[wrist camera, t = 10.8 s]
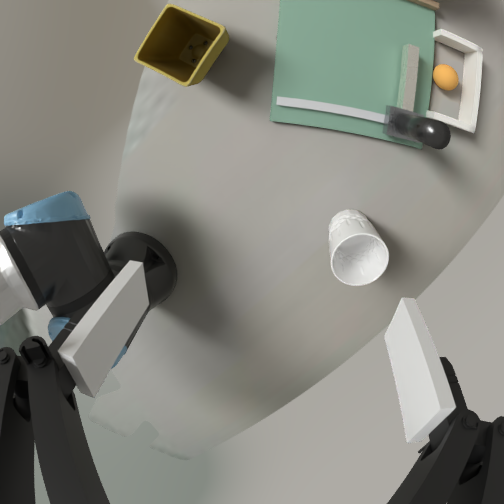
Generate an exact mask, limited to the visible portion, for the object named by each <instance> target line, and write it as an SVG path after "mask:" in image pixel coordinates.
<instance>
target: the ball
mask: <svg viewBox="0 0 504 504" xmlns="http://www.w3.org/2000/svg"><path fill="white" fill-rule="evenodd" d="M433 79H434V81H435V83H436V84H437V85H438V86H439V87H440V88H441V89H444V90H452V89H454V88H455V87H456V86H457V84H458V75H457V73H456V71H455V70H454V69H453V68H452V67H450V66H448V65H445V64H441V65H438V66H436V67H435V69H434V71H433Z"/></svg>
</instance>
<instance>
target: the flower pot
mask: <svg viewBox="0 0 504 504" xmlns="http://www.w3.org/2000/svg"><path fill="white" fill-rule="evenodd" d="M228 41H229V35H228V33H227V31H226V28H225V27H224V26H223V25H220V24H218V23H216V22H213V21H211V20H209V19H206V18H204V17H202V16H199V15H197V14H195V13H192V12H190V11H188V10H186V9H183V8H181V7H178V6H176V5H174V4H167V5H166V6H165V8H164V9H163V11H162V12H161V14H160V15H159V17H158V18H157V20H156V22H155V23H154V25H153V26H152V28H151V29H150V31H149V33H148V35H147V36H146V38H145V39H144V41H143V43H142V44H141V46H140V48H139V50H138V51H137V53H136V55H135V57H134V60H135V61H136V62H138V63H140V64H142V65H144V66H146V67H148V68H150V69H152V70H154V71H156V72H158V73H160V74H162V75H164V76H166V77H168V78H169V79H171V80H173V81H175V82H177V83H178V84H180V85H182V86H185V87H187V86H191V85H194V84H198V83H200V82H201V81H202V80H203V79H204V77H205V75H206V74H207V72H208V71H209V69H210V68H211V66H212V65H213V63H214V62H215V60H216V59H217V57H218V56H219V54H220V53H221V51H222V50H223V49H224V47H225V46H226V45H227V43H228ZM204 42H207V45H204ZM190 46H192V47H193V48H192V49H189V47H190ZM193 59H195V60H196V61H195V62H194V63H193V62H192V60H193Z"/></svg>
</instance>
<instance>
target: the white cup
mask: <svg viewBox="0 0 504 504" xmlns="http://www.w3.org/2000/svg"><path fill="white" fill-rule="evenodd" d="M328 228H329V250H330V260H331V268H332V271H333V273H334V275H335V276H336V277H337V278H338V279H339V280H340V281H341V282H343V283H345V284H348V285H352V286H362V285H366V284H369V283H371V282H373V281H375V280H376V279H378V278H379V277H380V276H381V275H382V274H383V273H384V271H385V269H386V268H387V265H388V261H389V252H388V249H387V246H386V245H385V243H384V241H383V240H382V238H381V237H380V235H379V234H378V232H377V231H376V229H375V228H374V227H373V225H372V224H371V223H370V222H369V221H368V219H367V218H366V216H365V215H364V214H362V213H361V212H359V211H358V210H351V209H347V210H344V211H341V212H339V213H337V214H336V215H335V216H334V217H333V218H332V220H331V222H330V225H329V227H328Z"/></svg>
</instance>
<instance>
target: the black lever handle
mask: <svg viewBox="0 0 504 504" xmlns="http://www.w3.org/2000/svg"><path fill="white" fill-rule="evenodd" d="M418 61H419V47H417V46H414V45H411V44H407V45H405V46H403V49H402V62H401V74H400V83H399V92H398V100H397V107H394V106H389V105H386V111H385V119H384V125H383V132H382V133H384V134H386V135H390V136H394V137H398V138H402V139H406V140H410V141H414V142H417V143H420V142H422V143H424V144H426V145H429V146H431V147H433V148H435V149H443V148H445V147H446V146H447V145H448V144H449V141H450V136H451V135H450V130H449V128H448V126H447V125H446V124H445V123H444V122H442V121H439V120H434V119H430V118H425V117H424V115H422V114H419V113H415V112H413V108H414V100H415V92H416V83H417V73H418Z"/></svg>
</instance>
